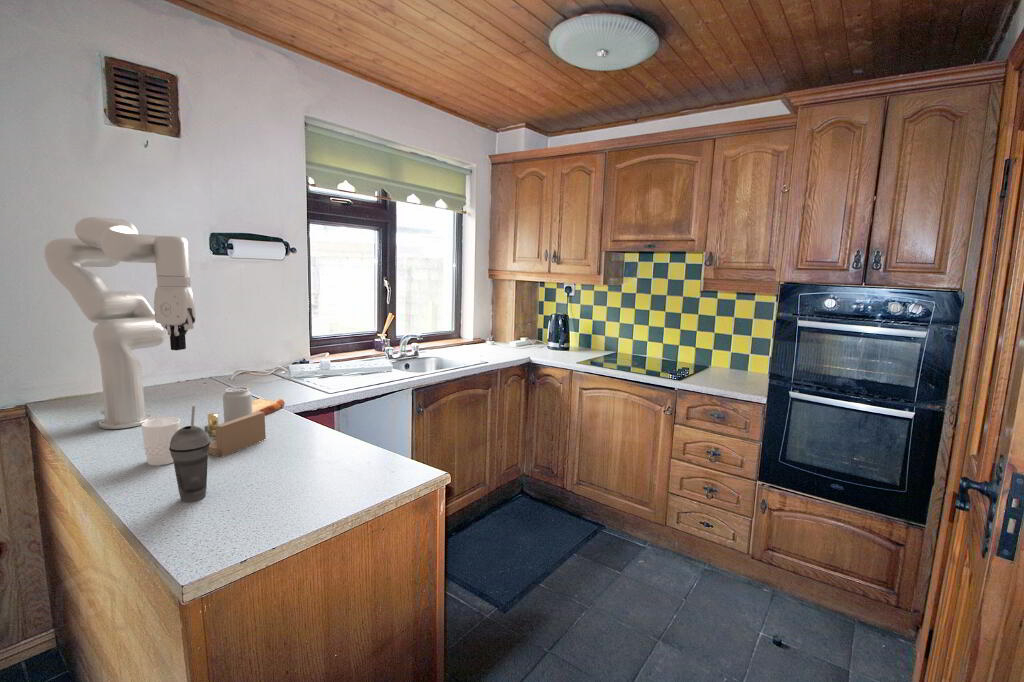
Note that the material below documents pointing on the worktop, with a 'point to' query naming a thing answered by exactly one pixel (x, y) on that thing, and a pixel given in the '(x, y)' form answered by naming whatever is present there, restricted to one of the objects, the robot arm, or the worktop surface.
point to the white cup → (159, 439)
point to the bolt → (212, 423)
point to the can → (237, 403)
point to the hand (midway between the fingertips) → (178, 349)
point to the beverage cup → (190, 461)
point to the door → (235, 433)
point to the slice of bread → (266, 405)
